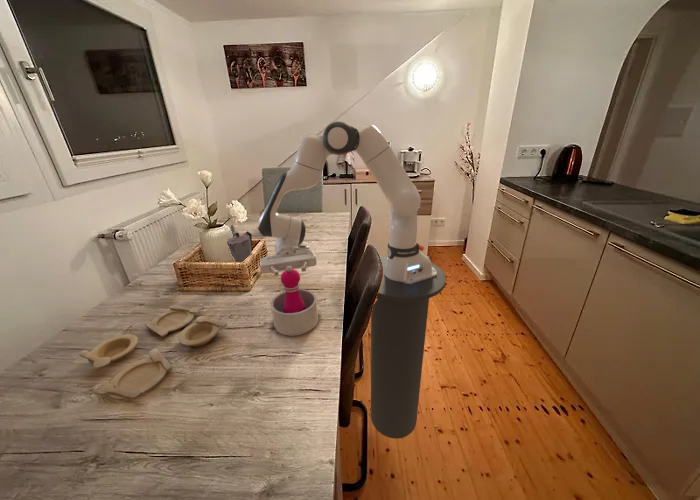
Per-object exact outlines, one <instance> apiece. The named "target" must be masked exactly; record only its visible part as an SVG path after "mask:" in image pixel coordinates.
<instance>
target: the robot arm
mask: <svg viewBox="0 0 700 500" xmlns="http://www.w3.org/2000/svg"><path fill="white" fill-rule="evenodd" d="M351 152H355V153H356V154H358V155H359V157H360V158H361V160H362V162H363V163H364V165H365V166H366V168H367V169H368V171H369V172H370V174H371V176H372V177H373V178H374V181H376V183H377V185H378V187H379V189H380V191H381V192H382V194H383V196H384V197H385V200H386V201H387V202H388V205H389V225H388V227H389V228H388V229H389V230H388V243H387V249H386V250H387V251H386V253H387V256H388V260H387V265H386V269H385V271H384V274H385V276H386V277H387V278H389V279H391V280H394V281H399V282H404V283H407V284H413V283H416V282H419V281H422V280H425V279H429V278H432V277H435V276H437V272H436V270H435V269H434V268H433V267H432V264H431V263H432V260H431V259H432V257H431V256H429V255H427V254H426V253H423V251H424V250H425V246H424V245H422V244H419V243H418V242H417V235H418V233H417V232H418V211H419V209H420V207H421V203H422V198H421V195H420V193H419V190H418V188H417V187H416V185H415V184H414V183H413V182H412V180H411V178H410V176H409V174H408V173H407V172H406V169H405V168H404V166H403V165H402V163H401V161H400V160H399V157H398V156H397V154H396V153H395V151H394V150H393V148H392V147H391V144H390V143H389V142H388V140H387V139H386V137H385V136H384V135H383V134H382V132H381V131H380V130H379V129H378V128H377V127H376V126H375V125H373V124H364V125H363V126H360V127H359V128H356V127H354V126H351V125H350V124H348V123H347V122H343V121H339V120H338V121H333V122H331V123H330V124H328V125H327V126H326V127H325V129H324V131H323V135H318V134H313V133H309V134H307V135H304V136H303V138H302V139H301V141H300V143H299V146H298V149H297V151H296V154H295V157H294V160H293V164H292V166H291V167H290V169H289V170H288V171H286V172H283V173H282V174H281V175H280V176H279V177H278V179H277V181H276V183H275V186H274V188H273V190H272V192H271V195H270V196H269V200H268V201H267V203H266V206H265V207H264V208H265V210H264V212H263V213H262V215H261V216H260V215H259V218H258V221H257V230H258V232H259V233H260V234H261V235H262V236H263V237H270V238H276V240H275V244H274V251H275V253H274V254H275V255H268V256H264V257H262V259H260V260H259V269H260V273H261V274H264V275H265V274H273V276H274V277H276V276H279V273H280V272H284V271H286V268H287V267H288V266H291V267H292V269H293V270H299V269H301V272H307V269H308V268H312V267H315V266H317V256H316V254H315V253H314V251H313V250H312V249H310V246H309V245H304V244H303V242H304V240H305V237H306V231H307V229H306V224H305V222H304V220H303V219H302V218H299V217H295V216H292V215H286V214H282V213H280V212H279V213H277V212H276V210H277V211H278V208H279V206H280V204H281V201H282V199H283V197H284V196H285V195H286V194H287V193H289V192H292V191H301V190H309V189H311V188H314V187H315V186H316V185H317V184H318V183H319V182H320V180H321V178H322V174H323V171H324V167H325V164H326V161H327V159H328V158H329V156H331V155H335V156H345V155H347V154H349V153H351ZM302 244H303V245H302Z"/></svg>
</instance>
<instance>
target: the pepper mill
mask: <svg viewBox="0 0 700 500" xmlns="http://www.w3.org/2000/svg"><path fill="white" fill-rule="evenodd" d="M300 281H301V275H300V273H299V271H298V270H297V269H292V267H291V266H288V267H287V268H286V270H285V271H282V273H281V276H280V283H281V284H282V285H283V286H282V287H283V292H285V291H286V299H285V302H284V305H283V312H284V313H296V312H300V311H303V310H305V303H304V301H303V300H302V298H301V297H300V294H299V289H301V286H300Z"/></svg>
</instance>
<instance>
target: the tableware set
mask: <svg viewBox="0 0 700 500" xmlns="http://www.w3.org/2000/svg"><path fill="white" fill-rule="evenodd" d="M201 310H203V307H202V306H194V307H193V306H192V307H187V306H180V305H175V304H173V305H170V306H169V309H168V310H165V311H163V312H161V313H159V314H158V315H157V316H155V317H154V318H153V319H152V320H151V321H145V322H144V326H145V327H147V328H148V329H149V330H150V332H152V333H154V334H156V335H158V336H160V337H161V338H164V337H166V336H167V335H168V334H169V333H171V332H175V331H178V330H180V329H182V328H184V327H185V326H186V327H185V328H184V329H183V330H181V332H180V333H179V335H178V337H177V340H178V342H179V344H180V345H183V346H185V347H201V346H204V345H207V344H208V343H209V342H210V341H212V339H214V337H215V336H216V335H217V334H218V333H219V332H220V328H226V327H227V326H228V323H227V322H226V321H221V320H215V319H210V317H209V316H208V315H206V314H205V315H200V316H197V318H196V319H195V321H196V322H193V323H191V322H192V321H193V319H194V318H195V314H197V313H199V312H200V311H201ZM190 323H191V324H190ZM188 324H189V325H188ZM187 325H188V326H187ZM138 344H139V337H138V336H137V335H135V334H132V333H131V334H130V333H127V334H126V333H125V334H121V335H116V336H114V337H111V338H108V339H107V340H105V341H102V342H101V343H100V344H98V345H96V346H95V347H94V348H92V349H91V351H88V350H85V349H83V350H80V351H79V352H78V356H79V357H82V358H84V359H86V360H87V361H88V363H90V365H93V367H94V368H96V369H100V368H104V367H106V366H108V365H113V364H116V363H118V362H120V361H122V360H124V359H126V358H127V357H128V356H129V355H130V354H131V352H132V351H133V350H134V349H135V348H136V347H137V346H138ZM148 356H149V357H147V358H143V359H140V360H137V361H135V362H132V363H131V364H129V365H126V366H125V367H124V368H123V369H121V370H120V371H118V372H117V373H116V374H115V375H114V376H113V377H112V378H111V380H110V382H109V383H108V382H103V383H102V384H101V386H98V387H97V389H95V390H93V392H92V393H93V394H95V395H101V396H105V395H108V396H109V397H110V398H112V399H114V400H128V399H132V400H135V399H138V398H139V397H140V396H141V395H142V394H145V393H146V392H148V391H151V390H152V389H153V388H154V387H156V386H157V385H158V384H159V383H160V382H162V380H163V379H164V378H165V376H166V374H167V373H168V372H169V371H170V370H172V369H173V366H172V364H171V362H169V360H167V358H166V357H165V356H164V355H163V354H162V353H161V352H160V350H159V349H158V348H157V347H156V348H153V349H151V350H150V351H149V352H148Z"/></svg>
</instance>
